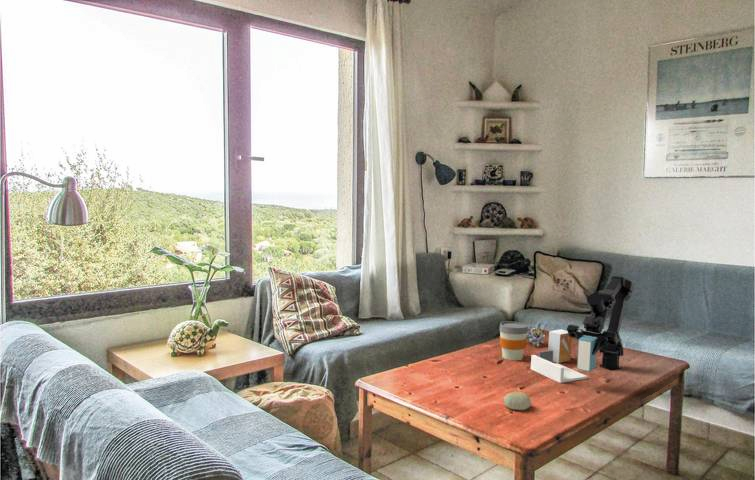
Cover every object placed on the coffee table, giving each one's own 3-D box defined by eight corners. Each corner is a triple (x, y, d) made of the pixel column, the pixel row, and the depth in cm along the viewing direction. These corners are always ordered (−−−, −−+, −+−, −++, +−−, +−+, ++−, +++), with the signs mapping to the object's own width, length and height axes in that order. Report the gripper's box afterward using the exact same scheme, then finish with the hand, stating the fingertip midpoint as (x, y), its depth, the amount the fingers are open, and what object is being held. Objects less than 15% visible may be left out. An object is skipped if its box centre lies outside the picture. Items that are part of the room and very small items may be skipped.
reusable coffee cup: (530, 356, 259) (532, 323, 258) (521, 363, 249) (523, 329, 247) (503, 351, 266) (505, 320, 264) (494, 358, 255) (495, 325, 254)
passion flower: (536, 357, 276) (532, 341, 269) (518, 348, 284) (513, 332, 277) (550, 341, 280) (546, 325, 274) (532, 333, 288) (527, 317, 281)
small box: (558, 363, 249) (560, 334, 248) (547, 359, 255) (548, 331, 253) (570, 360, 254) (572, 332, 252) (559, 356, 259) (560, 328, 258)
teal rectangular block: (582, 365, 225) (584, 335, 224) (595, 368, 222) (597, 338, 221) (576, 369, 221) (578, 339, 219) (589, 372, 217) (591, 341, 216)
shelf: (556, 365, 247) (557, 347, 246) (587, 378, 230) (588, 359, 230) (530, 369, 241) (531, 350, 240) (560, 382, 225) (561, 363, 224)
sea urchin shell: (498, 396, 204) (514, 381, 204) (512, 411, 205) (528, 396, 205) (505, 406, 195) (522, 390, 195) (521, 422, 196) (537, 406, 196)
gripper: (569, 304, 228) (556, 337, 221) (617, 311, 216) (606, 346, 209) (576, 320, 235) (564, 352, 228) (623, 328, 223) (612, 362, 216)
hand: (585, 352), depth 220 cm, fingers closed on teal rectangular block, 5 cm apart
